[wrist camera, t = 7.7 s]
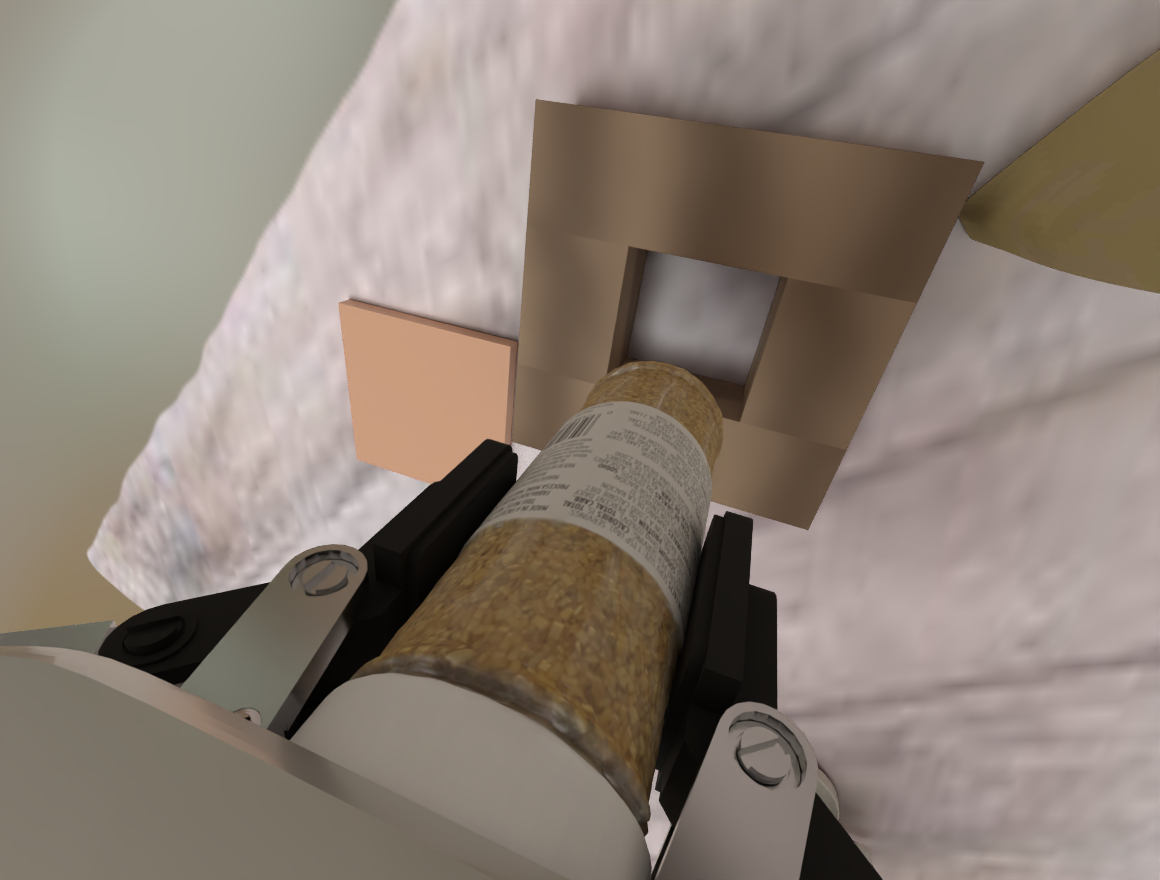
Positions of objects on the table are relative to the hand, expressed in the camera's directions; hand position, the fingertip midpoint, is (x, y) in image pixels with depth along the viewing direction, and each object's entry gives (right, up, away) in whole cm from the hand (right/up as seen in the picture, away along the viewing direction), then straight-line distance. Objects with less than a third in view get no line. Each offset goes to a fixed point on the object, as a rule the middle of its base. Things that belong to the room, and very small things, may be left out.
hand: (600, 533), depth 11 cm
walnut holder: (+6, +9, +15) cm, 18 cm away
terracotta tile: (-11, +5, +23) cm, 26 cm away
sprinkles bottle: (+2, +3, +5) cm, 6 cm away
